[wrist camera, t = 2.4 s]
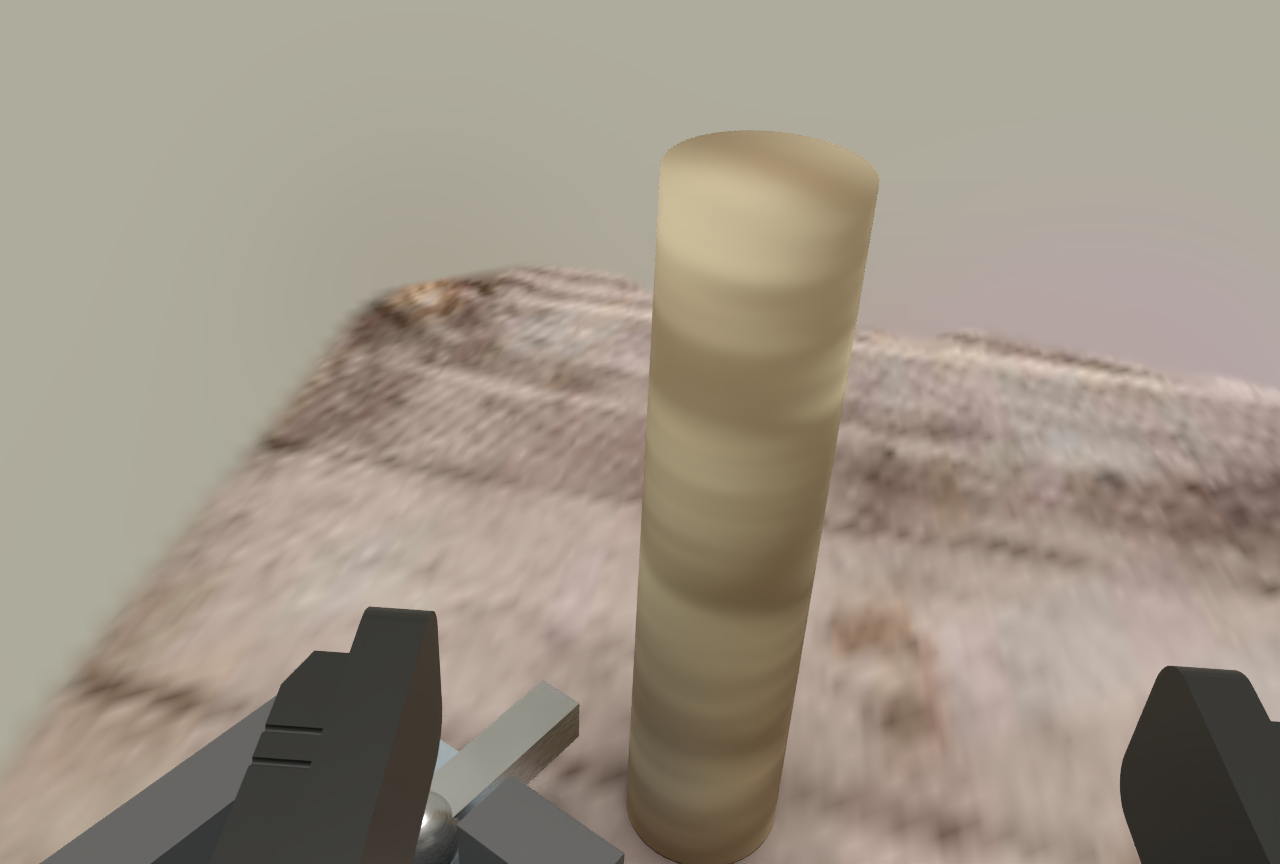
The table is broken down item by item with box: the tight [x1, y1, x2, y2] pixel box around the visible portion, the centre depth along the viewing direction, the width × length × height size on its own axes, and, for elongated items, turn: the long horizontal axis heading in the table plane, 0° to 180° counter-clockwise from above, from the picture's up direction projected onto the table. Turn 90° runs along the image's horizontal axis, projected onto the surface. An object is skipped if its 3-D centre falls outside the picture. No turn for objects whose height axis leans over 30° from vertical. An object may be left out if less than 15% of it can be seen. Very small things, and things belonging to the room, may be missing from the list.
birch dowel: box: [627, 131, 879, 864], centre depth 27 cm, size 4×4×18 cm
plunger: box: [412, 680, 579, 864], centre depth 28 cm, size 6×2×2 cm, turn 142°
